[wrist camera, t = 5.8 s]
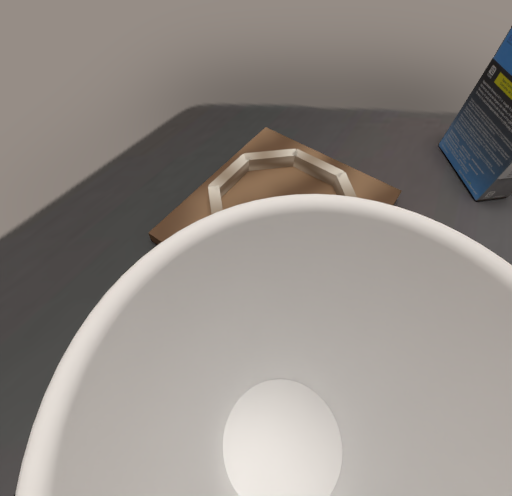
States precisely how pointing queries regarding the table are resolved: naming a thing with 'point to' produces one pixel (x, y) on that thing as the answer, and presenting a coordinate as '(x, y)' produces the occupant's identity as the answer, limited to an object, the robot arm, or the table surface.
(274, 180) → the board
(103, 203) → the table surface
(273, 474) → the dixie cup
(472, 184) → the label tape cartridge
